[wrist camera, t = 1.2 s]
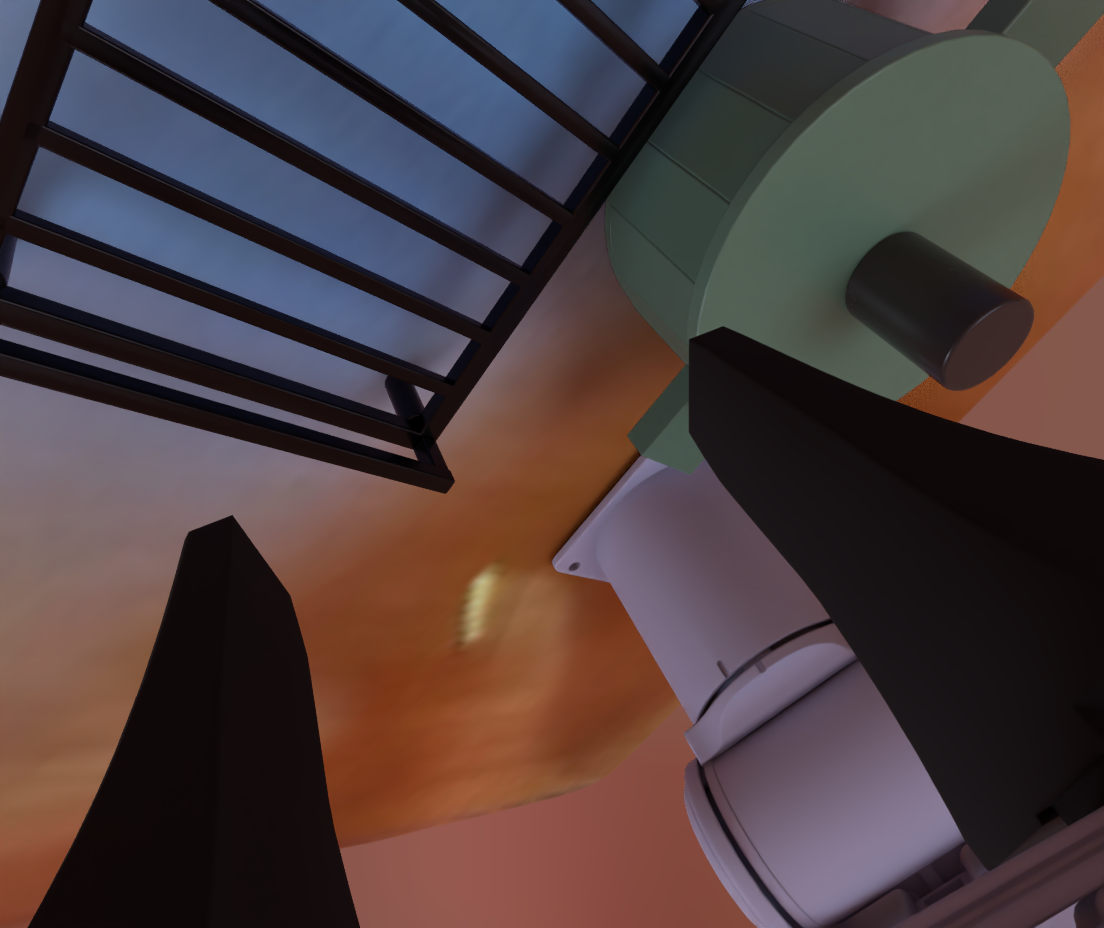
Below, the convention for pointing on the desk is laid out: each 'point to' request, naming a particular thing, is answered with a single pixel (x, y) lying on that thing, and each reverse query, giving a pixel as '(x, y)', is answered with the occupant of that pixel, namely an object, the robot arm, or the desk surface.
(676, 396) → the pot
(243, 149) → the desk surface
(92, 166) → the rack
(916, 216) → the lid
